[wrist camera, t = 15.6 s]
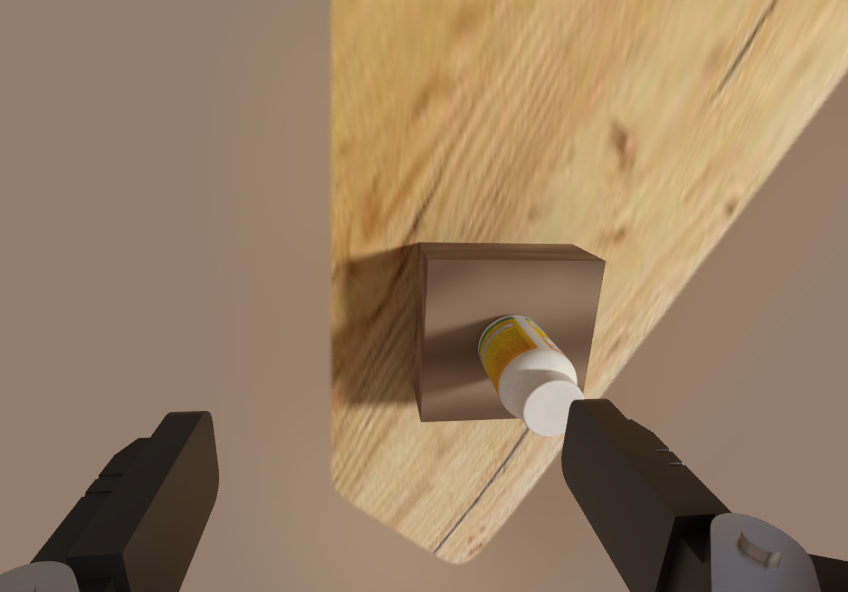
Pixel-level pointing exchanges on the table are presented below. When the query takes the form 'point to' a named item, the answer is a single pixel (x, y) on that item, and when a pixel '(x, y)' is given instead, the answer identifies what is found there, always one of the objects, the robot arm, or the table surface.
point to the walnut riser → (495, 316)
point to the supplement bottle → (529, 373)
